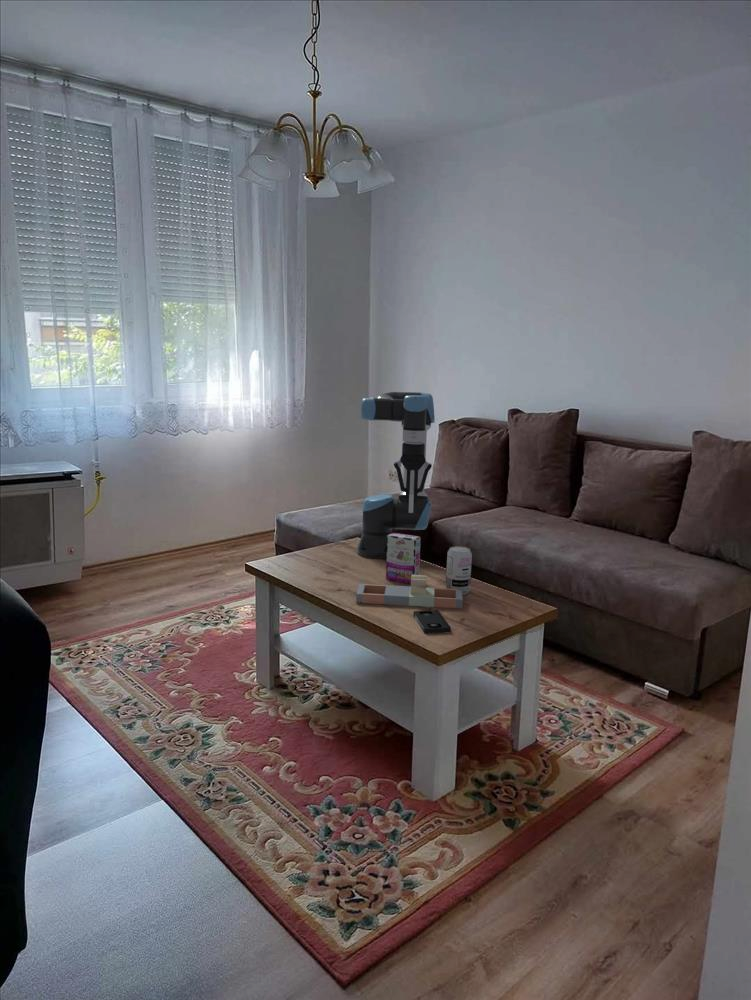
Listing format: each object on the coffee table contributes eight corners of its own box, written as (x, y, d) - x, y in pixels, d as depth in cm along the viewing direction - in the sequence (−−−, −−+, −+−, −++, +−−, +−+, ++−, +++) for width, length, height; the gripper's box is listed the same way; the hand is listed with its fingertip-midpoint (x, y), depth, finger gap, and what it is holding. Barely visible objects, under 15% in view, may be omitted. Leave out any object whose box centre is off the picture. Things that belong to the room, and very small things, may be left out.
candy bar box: (419, 581, 254) (421, 536, 251) (413, 585, 250) (415, 539, 247) (391, 575, 259) (393, 531, 256) (385, 579, 255) (386, 534, 252)
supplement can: (452, 586, 250) (455, 544, 247) (473, 591, 245) (476, 549, 242) (441, 592, 244) (443, 549, 240) (462, 597, 239) (464, 554, 236)
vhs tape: (412, 617, 222) (413, 610, 221) (437, 616, 223) (438, 609, 223) (424, 635, 208) (424, 628, 208) (450, 634, 210) (450, 627, 209)
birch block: (410, 589, 236) (411, 574, 235) (426, 590, 236) (426, 575, 235) (410, 594, 232) (410, 579, 231) (425, 595, 231) (426, 580, 230)
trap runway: (359, 592, 241) (359, 583, 240) (461, 597, 239) (461, 589, 238) (356, 602, 231) (356, 593, 231) (462, 608, 229) (462, 599, 228)
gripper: (393, 443, 235) (391, 513, 240) (433, 444, 234) (430, 515, 239) (394, 440, 242) (392, 508, 247) (433, 441, 241) (430, 510, 246)
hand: (410, 511), depth 243 cm, fingers closed
